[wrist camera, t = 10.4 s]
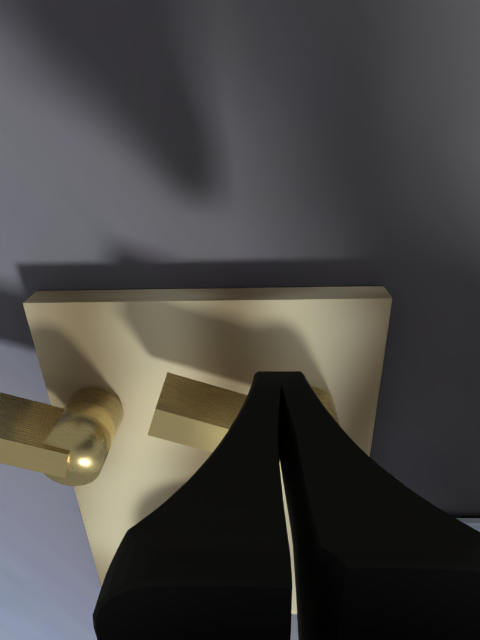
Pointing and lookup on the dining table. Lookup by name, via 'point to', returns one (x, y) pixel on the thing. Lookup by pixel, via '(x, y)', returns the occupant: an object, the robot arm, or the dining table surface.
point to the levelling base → (199, 373)
